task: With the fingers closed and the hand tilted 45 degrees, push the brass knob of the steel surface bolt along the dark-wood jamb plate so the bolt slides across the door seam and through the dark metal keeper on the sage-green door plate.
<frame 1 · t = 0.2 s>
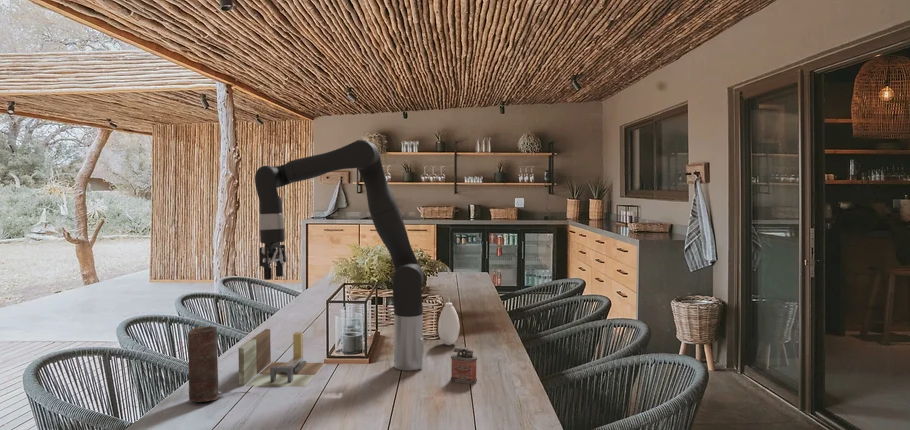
hand: (274, 278, 188), 28 cm above the table, tool pointing down, fingers open, 8 cm apart
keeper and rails: (289, 366, 177), point 3 cm above the table
lighter: (463, 381, 174), on the table
candle: (203, 401, 157), on the table
door mockup: (286, 377, 177), on the table
bolt: (294, 352, 181), point 6 cm above the table, slide at 0.0 cm
white ceramic vase: (448, 345, 214), on the table
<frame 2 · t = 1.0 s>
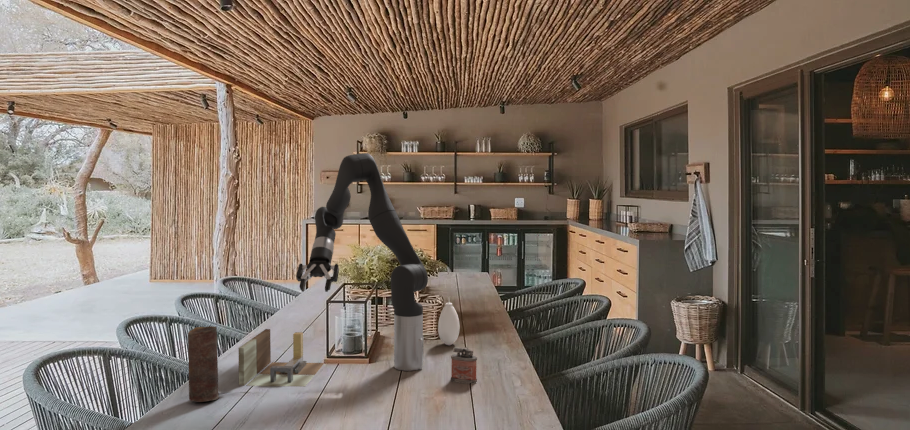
hand: (314, 290, 197), 23 cm above the table, tool tilted 45°, fingers open, 7 cm apart
nothing on the table moved.
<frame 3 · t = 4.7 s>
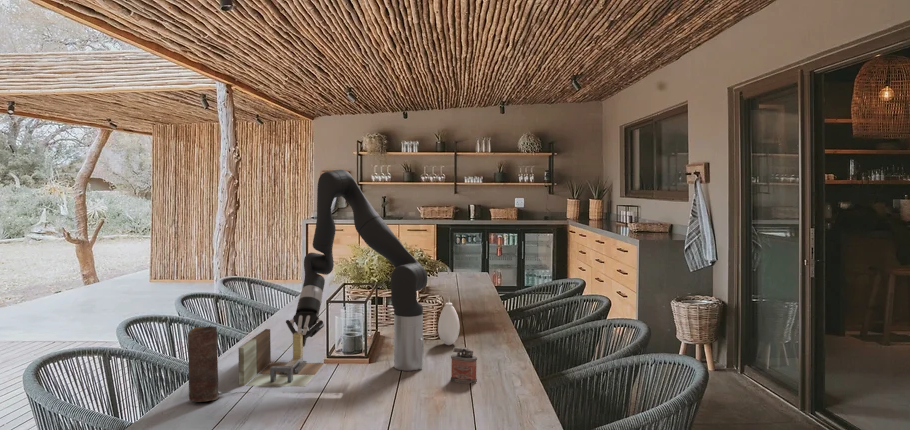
hand: (299, 347, 187), 6 cm above the table, tool tilted 45°, fingers closed
bolt: (293, 352, 181), point 6 cm above the table, slide at 0.4 cm, touching gripper
everything else where it was.
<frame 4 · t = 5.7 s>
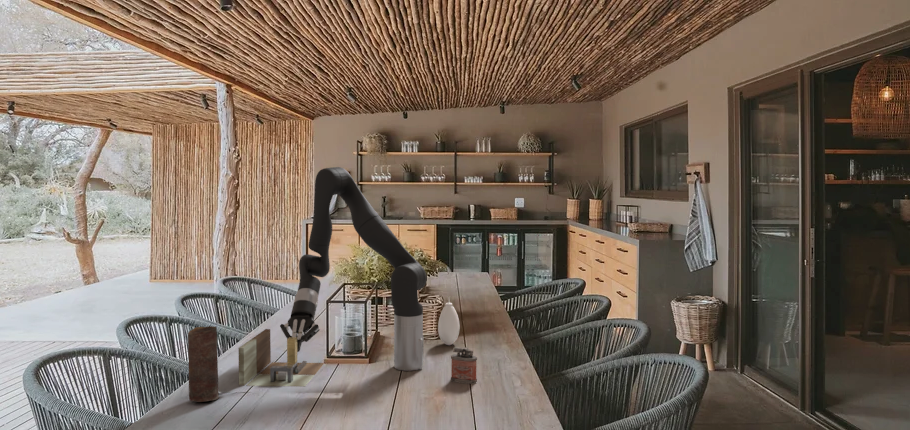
hand: (294, 352, 181), 6 cm above the table, tool tilted 45°, fingers closed
bolt: (287, 357, 175), point 6 cm above the table, slide at 6.2 cm, touching gripper
everything else where it was.
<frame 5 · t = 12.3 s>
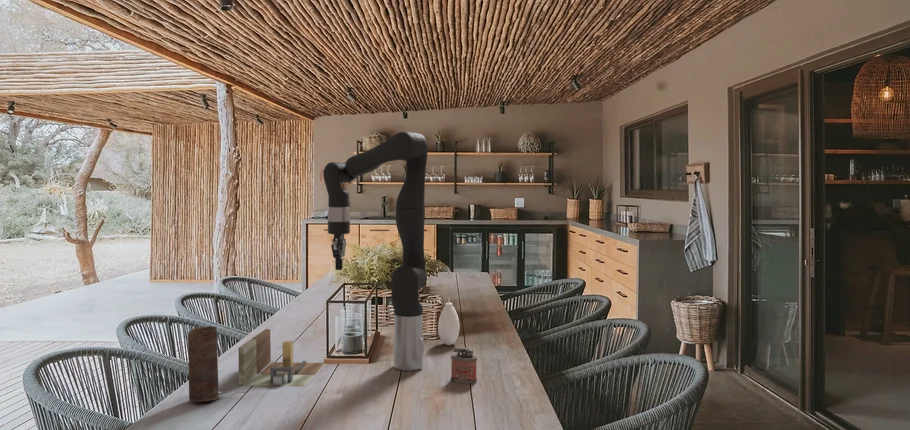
hand: (339, 269, 203), 29 cm above the table, tool pointing down, fingers closed
bolt: (283, 362, 171), point 6 cm above the table, slide at 10.4 cm
everything else where it was.
at the end: bolt slide at 10.4 cm; the gripper is holding nothing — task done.
